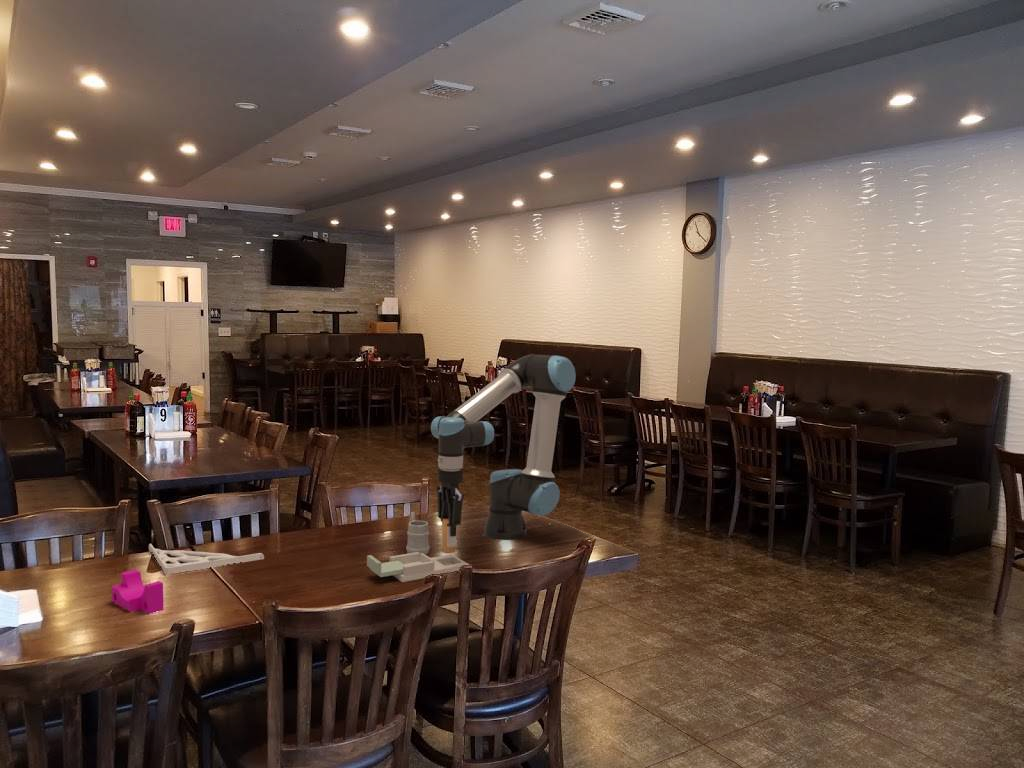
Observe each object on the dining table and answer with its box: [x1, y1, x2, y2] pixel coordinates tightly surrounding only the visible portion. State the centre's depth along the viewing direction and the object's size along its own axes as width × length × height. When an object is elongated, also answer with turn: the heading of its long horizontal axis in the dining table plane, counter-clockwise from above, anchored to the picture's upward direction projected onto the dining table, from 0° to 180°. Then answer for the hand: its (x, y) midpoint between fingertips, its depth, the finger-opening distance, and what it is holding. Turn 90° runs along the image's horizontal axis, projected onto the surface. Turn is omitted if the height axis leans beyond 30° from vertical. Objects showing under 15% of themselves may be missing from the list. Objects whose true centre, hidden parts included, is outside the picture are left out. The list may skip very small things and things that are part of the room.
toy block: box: [111, 569, 165, 615], centre depth 194 cm, size 15×6×8 cm, turn 51°
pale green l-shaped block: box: [366, 554, 405, 578], centre depth 219 cm, size 10×8×4 cm
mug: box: [405, 511, 431, 556], centre depth 245 cm, size 8×12×12 cm, turn 27°
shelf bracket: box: [148, 543, 265, 574], centre depth 238 cm, size 28×28×3 cm
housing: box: [388, 552, 470, 583], centre depth 226 cm, size 22×11×4 cm, turn 123°
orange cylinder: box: [441, 518, 456, 555], centre depth 229 cm, size 4×4×10 cm
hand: (448, 544), depth 229 cm, fingers closed on orange cylinder, 3 cm apart
